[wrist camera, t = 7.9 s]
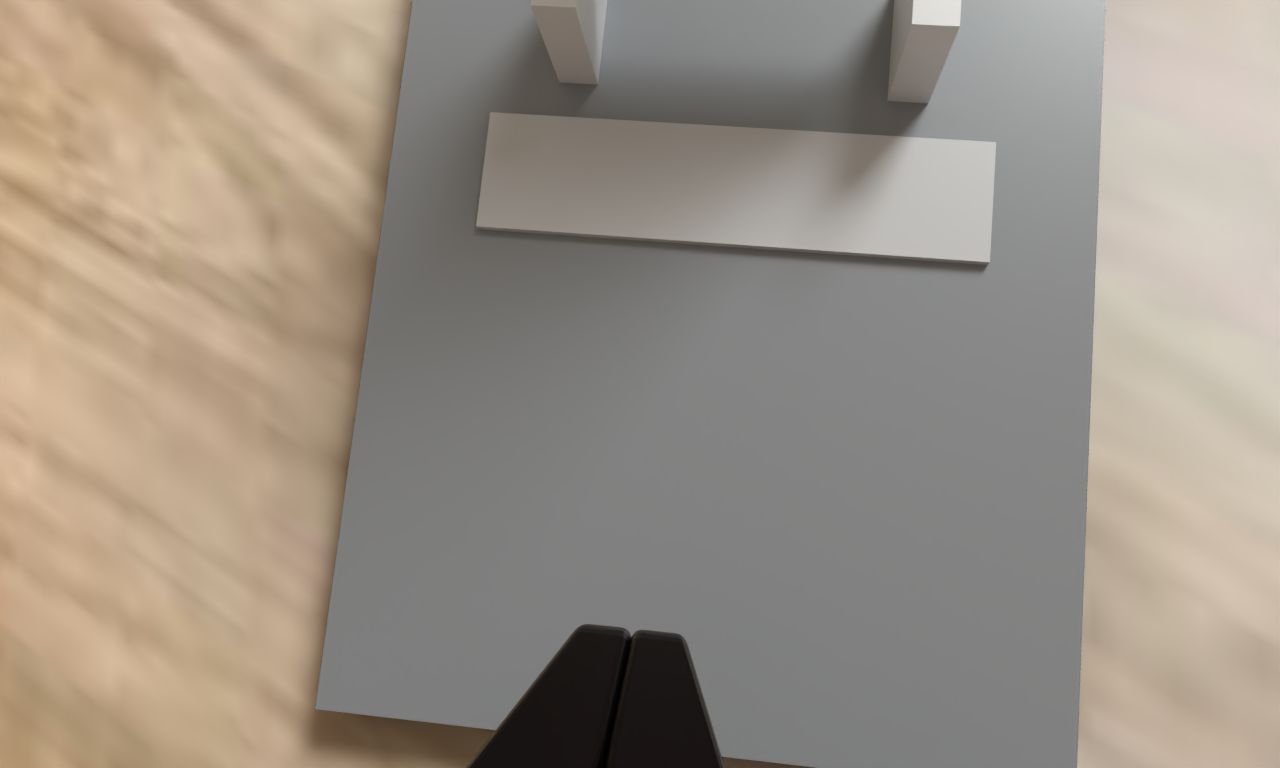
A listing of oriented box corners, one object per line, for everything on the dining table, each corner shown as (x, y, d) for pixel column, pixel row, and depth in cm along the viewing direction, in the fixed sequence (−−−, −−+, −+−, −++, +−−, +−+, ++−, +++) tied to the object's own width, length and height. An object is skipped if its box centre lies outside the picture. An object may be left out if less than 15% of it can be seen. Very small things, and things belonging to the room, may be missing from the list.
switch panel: (1056, 784, 21) (1138, 842, 17) (337, 701, 22) (240, 734, 18) (1092, -97, 24) (1170, -246, 19) (448, -122, 25) (387, -265, 21)
